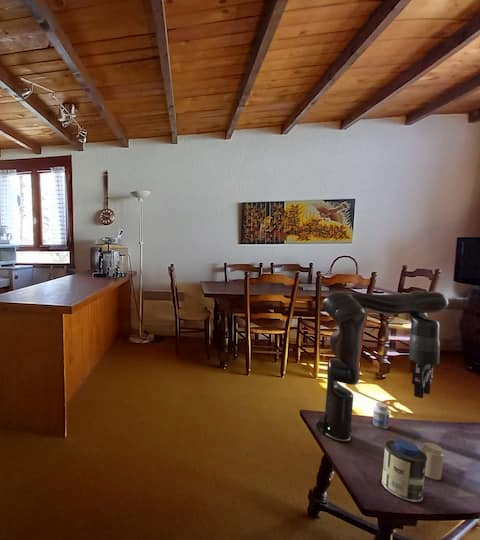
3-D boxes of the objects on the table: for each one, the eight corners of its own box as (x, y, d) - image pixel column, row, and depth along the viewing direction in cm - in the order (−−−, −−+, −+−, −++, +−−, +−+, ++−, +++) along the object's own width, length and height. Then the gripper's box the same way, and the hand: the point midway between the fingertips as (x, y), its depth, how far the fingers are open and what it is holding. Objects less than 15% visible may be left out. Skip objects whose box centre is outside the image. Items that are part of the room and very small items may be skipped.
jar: (423, 476, 107) (426, 448, 106) (417, 466, 112) (419, 439, 111) (444, 482, 105) (447, 453, 104) (436, 471, 110) (439, 444, 109)
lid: (419, 451, 99) (420, 446, 99) (414, 458, 96) (415, 453, 96) (397, 442, 104) (397, 437, 104) (391, 448, 101) (391, 442, 101)
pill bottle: (382, 422, 139) (384, 402, 138) (391, 429, 134) (393, 408, 133) (369, 421, 140) (371, 401, 139) (378, 428, 135) (380, 407, 134)
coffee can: (417, 485, 103) (421, 446, 102) (427, 507, 95) (432, 465, 93) (378, 473, 109) (381, 436, 107) (384, 493, 100) (388, 453, 99)
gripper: (434, 353, 98) (432, 403, 98) (444, 349, 106) (442, 395, 106) (403, 347, 104) (401, 394, 104) (415, 344, 112) (413, 388, 112)
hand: (422, 395), depth 105 cm, fingers open, 8 cm apart
